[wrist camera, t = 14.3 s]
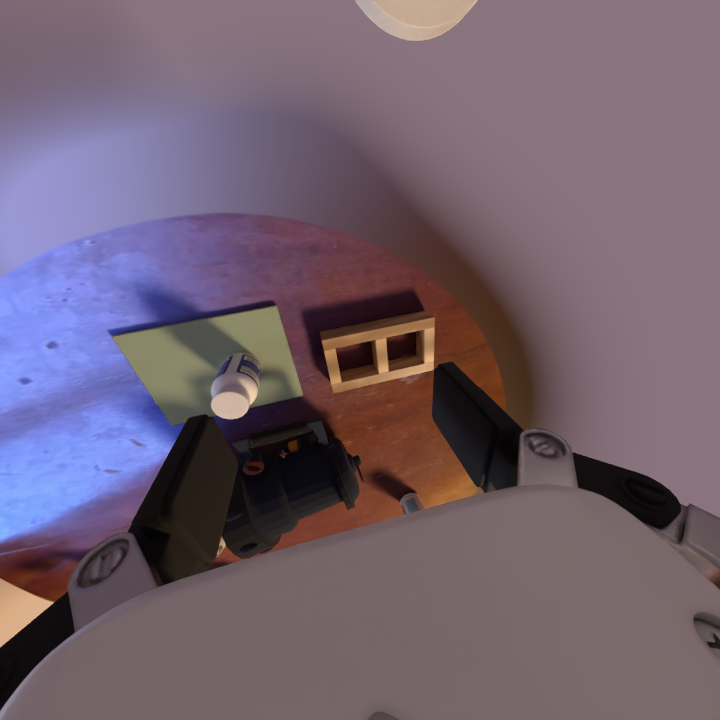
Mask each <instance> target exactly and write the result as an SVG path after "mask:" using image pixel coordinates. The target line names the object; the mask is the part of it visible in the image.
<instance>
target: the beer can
mask: <svg viewBox="0 0 720 720" xmlns="http://www.w3.org/2000/svg"><path fill="white" fill-rule="evenodd" d="M400 503H401V506H402V509H403V512H404V514H409V513H412V512H416V511H420V510H423V509H425V508H424V506H423V504H422V501H421V499H420V497H419V495H418V494H417V493H408V494H406V495H404V496H403V497H402V499H401V501H400Z"/></svg>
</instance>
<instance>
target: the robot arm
mask: <svg viewBox="0 0 720 720" xmlns="http://www.w3.org/2000/svg"><path fill="white" fill-rule="evenodd" d="M432 417H433V420H434V422H435V423H436V425H437V427H438V428H439V430H440V431H441V433H442V434H443V436H444V437H445V439H446V440H447V442H448V444H449V445H450V447H451V448H452V450H453V451H454V453H455V454H456V456H457V458H458V459H459V461H460V462H461V464H462V465H463V467H464V468H465V470H466V471H467V473H468V475H469V476H470V478H471V479H472V481H473V482H474V484H475V485H476V486H477V487H481V488H482V490H483V491H484V493H483V494H479V495H476V496H472V497H468V498H464V499H460V500H456V501H452V502H449V503H445V504H441V505H438V506H434V507H431V508H427V509H423V510H420V511H416V512H412V513H409V514H405V515H401V516H398V517H394V518H391V519H387V520H383V521H380V522H376V523H373V524H369V525H366V526H362V527H358V528H355V529H351V530H348V531H344V532H341V533H337V534H334V535H330V536H326V537H323V538H319V539H316V540H312V541H309V542H305V543H302V544H298V545H295V546H291V547H288V548H284V549H281V550H277V551H274V552H270V553H267V554H263V555H260V556H256V557H253V558H249V559H246V560H242V561H239V562H235V563H232V564H229V565H225V566H222V567H219V568H216V569H212V570H209V569H210V565H211V561H214V560H215V558H216V556H217V553H218V549H219V545H220V541H221V536H222V532H223V528H224V524H225V520H226V516H227V511H228V507H229V503H230V499H231V495H232V491H233V486H234V482H235V478H236V474H237V470H238V462H237V459H236V458H235V456H234V454H233V452H232V450H231V449H230V447H229V445H228V443H227V441H226V439H225V438H224V436H223V434H222V432H221V430H220V429H219V427H218V425H217V423H216V421H215V419H214V418H213V417H209V416H208V415H207V414H203V415H198V416H193V417H190V418H188V419H187V421H186V423H185V425H184V427H183V429H182V430H181V432H180V434H179V436H178V438H177V440H176V441H175V443H174V445H173V447H172V449H171V451H170V453H169V454H168V456H167V458H166V460H165V462H164V464H163V466H162V467H161V469H160V471H159V473H158V475H157V477H156V479H155V480H154V482H153V484H152V486H151V488H150V490H149V492H148V493H147V495H146V497H145V499H144V501H143V503H142V504H141V506H140V508H139V510H138V512H137V514H136V516H135V517H134V519H133V521H132V525H131V527H130V529H129V531H128V532H123V533H117V534H115V535H113V536H110V537H108V538H107V539H105V540H103V541H102V542H100V543H99V544H97V545H96V546H95V547H94V548H93V549H91V550H90V551H89V552H88V553H87V554H86V555H85V556H84V557H83V558H82V559H81V561H80V562H79V563H78V565H77V566H76V567H75V569H74V570H73V572H72V574H71V576H70V579H69V581H68V592H67V593H65V594H64V595H63V596H62V597H61V598H59V599H58V600H57V601H56V602H55V603H53V604H52V605H51V606H50V607H49V608H48V609H46V610H45V611H44V612H43V613H41V614H40V615H39V616H38V617H37V618H36V619H34V620H33V621H32V622H31V623H29V624H28V625H27V626H26V627H25V628H24V629H22V630H21V631H20V632H18V633H17V634H16V635H15V636H14V637H13V638H11V639H10V640H9V641H8V642H6V643H5V644H4V645H3V646H2V647H0V720H720V518H719V517H717V516H715V515H713V514H711V513H709V512H707V511H704V510H702V509H700V508H698V507H696V506H694V505H692V504H689V505H688V506H687V507H686V506H684V505H682V504H680V503H679V501H678V499H677V498H676V497H675V496H674V494H673V493H672V492H671V491H670V490H669V489H667V488H666V487H665V486H663V485H662V484H660V483H659V482H657V481H656V480H654V479H652V478H650V477H648V476H645V475H643V474H640V473H637V472H634V471H630V470H627V469H624V468H621V467H618V466H614V465H611V464H608V463H605V462H601V461H599V460H595V459H592V458H589V457H586V456H583V455H579V454H576V453H573V452H572V450H571V447H570V445H569V444H568V443H567V442H566V441H565V440H564V439H563V438H562V437H560V436H559V435H557V434H555V433H553V432H551V431H548V430H545V429H540V428H529V429H526V430H523V429H522V428H521V427H520V426H519V425H518V424H517V423H515V421H514V420H513V419H512V418H511V417H510V416H508V415H507V414H506V413H505V412H504V411H503V410H502V409H501V408H500V407H499V406H498V405H497V404H496V403H495V402H494V401H493V400H492V399H491V398H490V397H489V396H488V395H487V394H486V393H485V392H484V391H483V390H482V389H480V388H479V387H478V386H477V385H476V384H475V383H474V382H473V381H472V380H470V379H469V378H468V377H467V376H466V375H465V374H464V373H463V372H462V371H461V370H460V369H459V368H458V367H457V366H456V365H455V364H454V363H453V362H447V363H443V364H439V365H438V366H437V368H435V370H434V383H433V405H432Z"/></svg>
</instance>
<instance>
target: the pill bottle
mask: <svg viewBox="0 0 720 720" xmlns="http://www.w3.org/2000/svg"><path fill="white" fill-rule="evenodd" d="M261 375H262V366H261V363H260V362H259V360H258V359H257V358H256V357H254V356H253V355H251V354H248V353H234V354H231V355H230V356H228V357H227V358H226V359H225V360H224V362H223V364H222V366H221V368H220V370H219V372H218V374H217V376H216V378H215V380H214V382H213V384H212V387H211V394H212V397H213V398H212V401H211V408H212V410H213V412H214V413H215V414H216V415H218V416H219V417H221V418H225V419H237V418H240V417H242V416H243V415H244V414H245V413H246V412H247V411H248V408H249V405H251V404H252V403H253V402H254V401H255V399H256V397H257V394H258V389H259V384H260V380H261Z"/></svg>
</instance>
